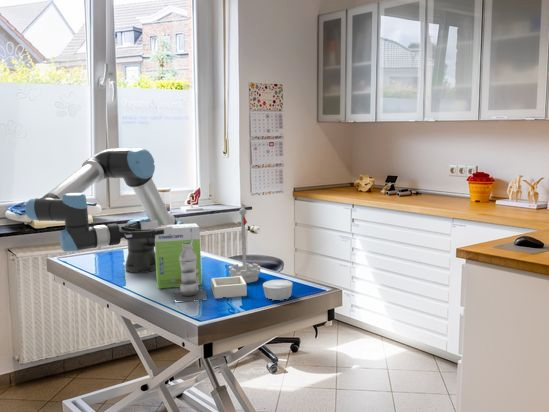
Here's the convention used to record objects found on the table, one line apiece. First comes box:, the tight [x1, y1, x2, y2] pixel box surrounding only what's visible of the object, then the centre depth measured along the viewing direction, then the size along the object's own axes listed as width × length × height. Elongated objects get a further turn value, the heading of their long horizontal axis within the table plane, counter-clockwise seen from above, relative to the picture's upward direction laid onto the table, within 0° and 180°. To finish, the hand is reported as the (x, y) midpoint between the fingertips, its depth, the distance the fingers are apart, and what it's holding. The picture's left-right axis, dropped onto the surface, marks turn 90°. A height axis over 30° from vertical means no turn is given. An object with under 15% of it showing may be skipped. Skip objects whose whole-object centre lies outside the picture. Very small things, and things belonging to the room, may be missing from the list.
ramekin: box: [262, 279, 294, 301], centre depth 217 cm, size 11×11×5 cm
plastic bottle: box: [179, 243, 199, 296], centre depth 219 cm, size 6×7×20 cm
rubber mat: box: [172, 289, 208, 302], centre depth 221 cm, size 12×12×1 cm
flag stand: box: [228, 207, 261, 284], centre depth 241 cm, size 13×13×30 cm
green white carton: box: [154, 222, 203, 289], centre depth 237 cm, size 18×10×24 cm, turn 105°
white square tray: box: [210, 276, 248, 299], centre depth 224 cm, size 12×12×4 cm
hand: (164, 227), depth 214 cm, fingers open, 13 cm apart
